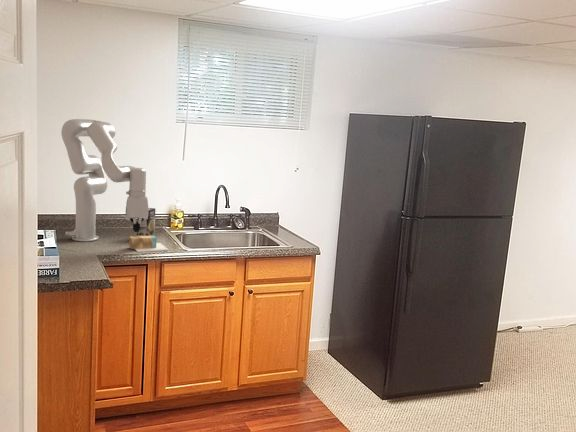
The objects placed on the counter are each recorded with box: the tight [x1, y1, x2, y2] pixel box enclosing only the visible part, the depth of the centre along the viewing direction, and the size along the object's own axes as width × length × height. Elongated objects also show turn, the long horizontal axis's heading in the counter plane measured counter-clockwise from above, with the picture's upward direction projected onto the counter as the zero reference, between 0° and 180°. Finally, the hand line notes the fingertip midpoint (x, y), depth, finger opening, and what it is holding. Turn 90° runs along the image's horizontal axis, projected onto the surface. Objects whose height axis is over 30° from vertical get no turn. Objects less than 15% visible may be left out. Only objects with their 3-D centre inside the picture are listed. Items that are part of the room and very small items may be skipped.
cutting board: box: [133, 242, 169, 253], centre depth 288 cm, size 15×14×1 cm
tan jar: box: [128, 235, 158, 250], centre depth 286 cm, size 5×5×12 cm
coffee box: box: [136, 207, 156, 237], centre depth 305 cm, size 9×6×16 cm
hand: (136, 231), depth 283 cm, fingers closed
